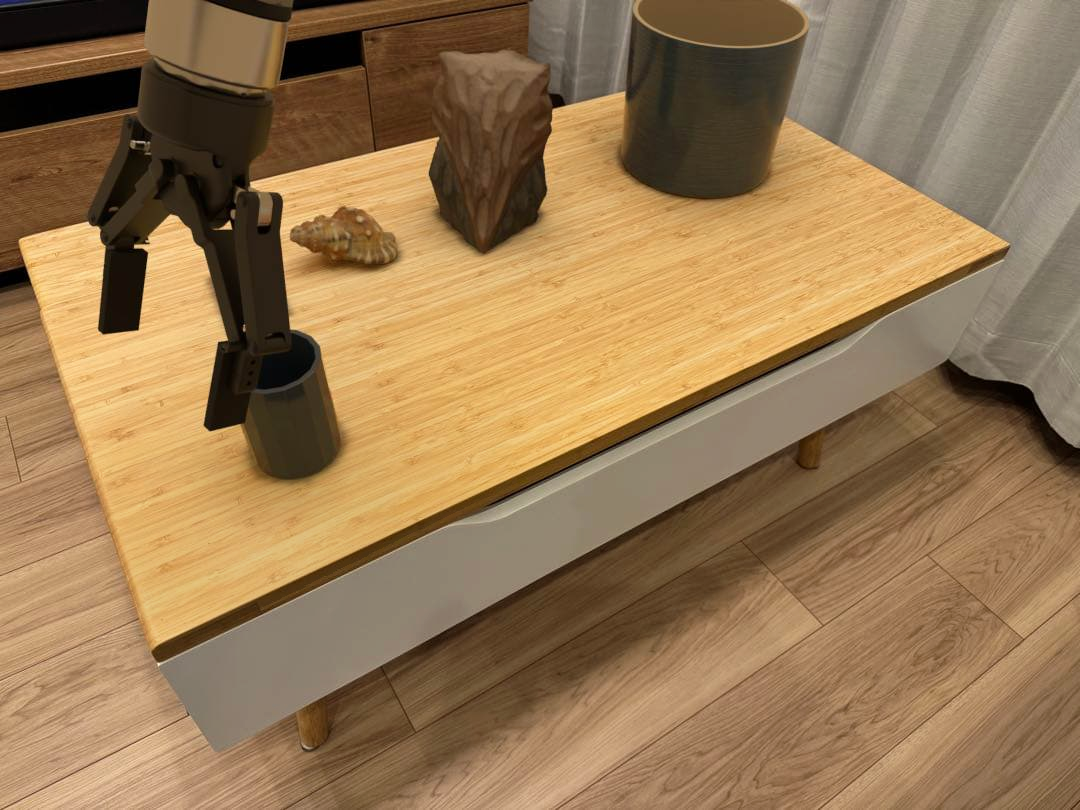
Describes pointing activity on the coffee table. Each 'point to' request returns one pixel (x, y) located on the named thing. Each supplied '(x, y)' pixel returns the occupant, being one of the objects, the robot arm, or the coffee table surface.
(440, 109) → the brown wrinkled upright block
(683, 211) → the coffee table surface
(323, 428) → the cup
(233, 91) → the robot arm
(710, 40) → the planter
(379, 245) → the seashell
